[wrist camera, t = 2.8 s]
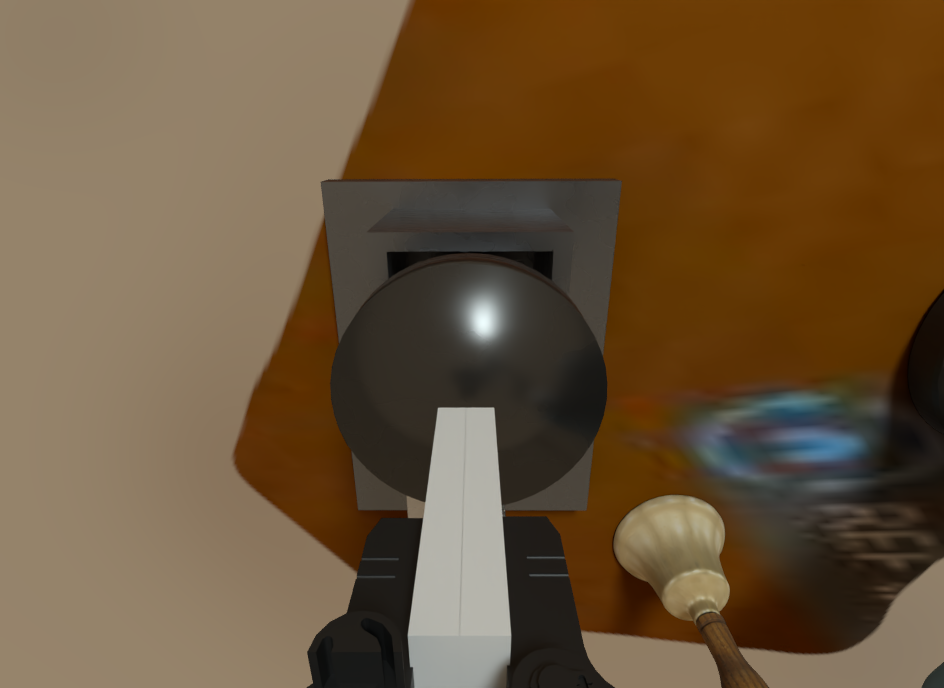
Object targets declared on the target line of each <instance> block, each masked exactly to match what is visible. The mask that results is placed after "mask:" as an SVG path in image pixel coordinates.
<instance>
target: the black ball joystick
mask: <svg viewBox="0 0 944 688" xmlns="http://www.w3.org/2000/svg"><path fill="white" fill-rule="evenodd" d="M330 384H331V401H332V405H333V410H334V415H335V418H336V421H337V424H338V427H339V429H340V432H341V433H342V435H343V437H344V439H345V441H346V443H347V445H348V446H349V448H350V449H351V451H352V452H353V453H354V455H355V456H356V458H357V459H358V460H359V461H360V462H361V463H362V464H363V465H364V466H365V467H366V469H368V470H369V471H370V472H371V473H372V474H373V475H375V476H376V477H377V478H378V479H379V480H381V481H382V482H384V483H385V484H387V485H388V486H390V487H391V488H393V489H395V490H397V491H399V492H400V493H402V494H404V495H406V496H407V510H408V518H423V517H424V510H425V502H426V495H427V487H428V480H429V472H430V465H431V457H432V450H433V442H434V435H435V427H436V420H437V412H438V408H494V411H495V425H496V438H497V452H498V465H499V479H500V492H501V506H503V505H506V504H510V503H514V502H517V501H520V500H523V499H525V498H528V497H530V496H533V495H535V494H537V493H539V492H540V491H542V490H544V489H546V488H548V487H549V486H551V485H552V484H554V483H555V482H557V481H558V480H560V479H561V478H562V477H563V476H564V475H565V474H567V473H568V472H569V471H570V470H571V469H572V468H573V467H574V466H575V465H576V464H577V463H578V462H579V460H580V459H581V458H582V457H583V456H584V454H585V453H586V451H587V450H588V448H589V447H590V445H591V444H592V442H593V440H594V438H595V436H596V434H597V432H598V430H599V427H600V424H601V421H602V419H603V416H604V411H605V405H606V400H607V377H606V367H605V364H604V360H603V356H602V352H601V349H600V347H599V345H598V343H597V340H596V338H595V336H594V334H593V332H592V331H591V329H590V327H589V326H588V324H587V322H586V321H585V319H584V317H583V316H582V314H581V313H580V311H579V309H578V308H577V306H576V305H575V304H574V302H573V301H572V300H571V299H570V298H569V296H568V295H567V294H566V293H565V292H564V291H563V290H562V289H561V288H560V287H559V286H557V285H556V284H555V283H554V282H553V281H552V280H550V279H549V278H547V277H546V276H544V275H543V274H541V273H540V272H538V271H536V270H534V269H532V268H530V267H528V266H526V265H525V264H524V261H513V260H510V259H507V258H504V257H499V256H494V255H489V254H478V253H460V254H448V255H443V256H438V257H433V258H430V259H427V260H424V261H418V262H417V263H415V264H413V265H411V266H409V267H407V268H405V269H403V270H401V271H399V272H398V273H396V274H395V275H393V276H392V277H391V278H389V279H388V280H386V281H385V282H384V283H383V284H381V285H380V286H379V287H378V288H377V289H376V290H375V291H374V292H373V293H372V294H371V295H370V296H369V298H368V299H367V300H366V301H365V302H364V304H363V305H362V306H361V308H360V309H359V311H358V312H357V314H356V315H355V317H354V318H353V320H352V321H351V323H350V324H349V326H348V328H347V329H346V331H345V333H344V334H343V336H342V338H341V341H340V343H339V346H338V348H337V350H336V354H335V358H334V362H333V366H332V373H331V383H330Z"/></svg>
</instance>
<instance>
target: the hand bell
mask: <svg viewBox="0 0 944 688" xmlns="http://www.w3.org/2000/svg"><path fill="white" fill-rule="evenodd" d="M724 539H725V529H724V524H723V521H722V519H721V517H720V515H719V514H718V512H717V511H716V510H715V509H714V508H713V507H712V506H711V505H709V504H708V503H706V502H705V501H703V500H701V499H697V498H695V497H691V496H685V495H668V496H661V497H657V498H654V499H651V500H649V501H646V502H644V503H642V504H640V505H639V506H637V507H636V508H634V509H633V510H631V511H630V512H629V513H628V514H627V515H626V516H625V517H624V519H623V520H622V521H621V522H620V524H619V525H618V527H617V529H616V532H615V536H614V542H613V546H614V552H615V555H616V558H617V560H618V561H619V563H620V564H621V565H622V566H623V567H624V568H625V569H626V570H627V571H628V572H629V573H630V574H632V575H633V576H635V577H637V578H639V579H641V580H644V581H647V582H649V584H650V585H651V586H652V587H653V589H654V590H655V592H656V593H657V595H658V596H659V598H660V600H661V602H662V604H663V605H664V607H665V608H666V610H667V611H668V612H669V613H670V614H672V615H673V616H675V617H677V618H679V619H683V620H689V621H694V623H695V624H696V626H697V628H698V630H699V632H700V633H701V634H702V637H703V639H704V641H705V643H706V645H707V646H708V648H709V650H710V652H711V654H712V655H713V658H714V659H715V662H716V664H717V667H718V671H719V675H720V680H721V687H722V688H769V687H768V686H767V685H766V683H765V682H764V681H763V679H762V678H761V677H760V676H759V675H758V673H757V672H756V671H755V670H754V669H753V668H752V667H751V666H750V665H749V664H748V663H747V661H746V660H745V659H744V657H743V656H742V654H741V653H740V651H739V649H738V647H737V645H736V643H735V641H734V639H733V637H732V635H731V633H730V631H729V629H728V627H727V626H726V622H725V620H724V618H723V617H722V616H721V615H720V613H719V611H720V610H721V609H722V608H723V607H724V606H725V605H726V603H727V601H728V598H729V585H728V582H727V580H726V577H725V575H724V573H723V570H722V567H721V564H720V560H719V555H720V553H721V551H722V548H723V545H724Z"/></svg>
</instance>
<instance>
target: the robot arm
mask: <svg viewBox="0 0 944 688" xmlns="http://www.w3.org/2000/svg"><path fill="white" fill-rule="evenodd" d="M908 384H909V390H910V394H911V398H912V400H913V403H914V405H915V407H916V409H917V410H918V412H919V413H920V415H921V416H922V417H923V418H924V420H925V421H926V422H927V423H928V424H930V425H931V426H932V427H933V428H935V429H936V430H938V431H939V432H941V433H943V434H944V293H943V294H942V296H941V297H940V298H939V299H938V301H937V302H936V303H935V305H934V306H933V308H932V309H931V310H930V312H929V313H928V315H927V317H926V318H925V320H924V322H923V324H922V326H921V328H920V330H919V332H918V334H917V336H916V339H915V341H914V344H913V347H912V351H911V355H910V360H909V367H908ZM307 653H308V659H309V664H310V669H311V674H312V680H313V684H311V685H310V686H308V687H307V688H615V687H613V686H612V685H610V684H609V683H608V682H606V681H605V680H604V679H603V678H602V677H601V675H600V674H599V673H598V672H597V671H596V670H595V668H594V667H593V665H592V664H591V662H590V660H589V659H588V656H587V653H586V650H585V648H584V644H583V639H582V635H581V630H580V625H579V621H578V616H577V611H576V607H575V602H574V598H573V593H572V588H571V584H570V579H569V577H568V570H567V565H566V560H565V558H564V551H563V547H562V542H561V537H560V534H559V533H558V531H557V530H556V529H555V527H554V526H553V525H552V523H551V522H550V521H549V519H548V518H547V517H502V506H501V492H500V479H499V465H498V452H497V438H496V425H495V411H494V408H438V412H437V420H436V427H435V435H434V442H433V450H432V457H431V465H430V472H429V480H428V487H427V495H426V502H425V510H424V517H423V518H382V519H381V520H380V521H379V522H378V523H377V525H376V526H375V527H374V528H373V530H372V531H371V532H370V533H369V535H368V536H367V539H366V543H365V547H364V551H363V554H362V561H361V562H360V566H359V569H358V573H357V579H356V581H355V585H354V588H353V592H352V596H351V599H350V603H349V607H348V611H347V613H346V614H344V615H343V616H341V617H339V618H337V619H335V620H333V621H331V622H329V623H328V624H327V626H325V627H324V628H323V629H322V630H321V631H320V632H319V633H318V634H317V635H316V636H315V638H314V640H313V642H312V644H311V646H310V648H309V650H308V652H307ZM922 688H944V662H943V663H942V664H941V665H940V666H939V667H937V668H936V669H935V670H934V671H933V672H932V673H931V674H930V675H929V676H928V677H927V678H926V680H925V681H924V683H923V685H922Z"/></svg>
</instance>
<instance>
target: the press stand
mask: <svg viewBox="0 0 944 688" xmlns="http://www.w3.org/2000/svg"><path fill="white" fill-rule="evenodd" d="M621 183H622V181H620V180H617V179H352V180H325V181H322V182H321V189H322V197H323V205H324V215H325V224H326V232H327V241H328V250H329V258H330V267H331V276H332V285H333V293H334V302H335V311H336V320H337V328H338V337H339V343H340V341H341V338H342V336H343V334H344V333H345V331H346V329H347V328H348V326H349V324H350V323H351V321H352V320H353V318H354V317H355V315H356V314H357V312H358V311H359V309H360V308H361V306H362V305H363V304H364V302H365V301H366V300H367V299H368V298H369V296H370V295H371V294H372V293H373V292H374V291H375V290H376V289H377V288H378V287H379V286H380V285H381V284H383V283H384V282H385V281H386V280H388V279H389V278H391V277H392V276H393V275H395V274H396V273H398V272H399V271H401V270H403V269H405V268H407V267H409V266H411V265H413V264H415V263H417V262H418V261H424V260H427V259H430V258H433V257H438V256H443V255H448V254H460V253H478V254H489V255H494V256H499V257H504V258H507V259H510V260H513V261H524V264H525V265H526V266H528V267H530V268H532V269H534V270H536V271H538V272H540V273H541V274H543V275H544V276H546V277H547V278H549V279H550V280H552V281H553V282H554V283H555V284H556V285H557V286H559V287H560V288H561V289H562V290H563V291H564V292H565V293H566V294H567V295H568V296H569V298H570V299H571V300H572V301H573V302H574V304H575V305H576V306H577V308H578V309H579V311H580V313H581V314H582V316H583V317H584V319H585V321H586V322H587V324H588V326H589V327H590V329H591V331H592V332H593V334H594V336H595V338H596V340H597V343H598V345H599V347H600V349H601V352H602V356H603V350H604V341H605V332H606V322H607V313H608V304H609V294H610V285H611V276H612V266H613V257H614V248H615V238H616V229H617V220H618V211H619V201H620V192H621ZM593 443H594V440H593V442H592V444H591V445H590V447H589V448H588V450H587V451H586V453H585V454H584V456H583V457H582V458H581V459H580V460H579V462H578V463H577V464H576V465H575V466H574V467H573V468H572V469H571V470H570V471H569V472H568V473H567V474H565V475H564V476H563V477H562V478H561V479H560V480H558V481H557V482H555V483H554V484H552V485H551V486H549V487H548V488H546V489H544V490H542V491H540V492H539V493H537V494H535V495H533V496H530V497H528V498H525V499H523V500H520V501H517V502H514V503H510V504H506V505H503V506H502V517H506V516H505V510H586V509H587V499H588V490H589V481H590V471H591V462H592V453H593ZM352 459H353V468H354V477H355V486H356V494H357V503H358V510H407V496H406V495H404V494H402V493H400V492H399V491H397V490H395V489H393V488H391V487H390V486H388V485H387V484H385V483H384V482H382V481H381V480H379V479H378V478H377V477H376V476H375V475H373V474H372V473H371V472H370V471H369V470H368V469H366V467H365V466H364V465H363V464H362V463H361V462H360V461H359V460H358V459H357V458H356V456H355V455H354V453H353V452H352Z"/></svg>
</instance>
